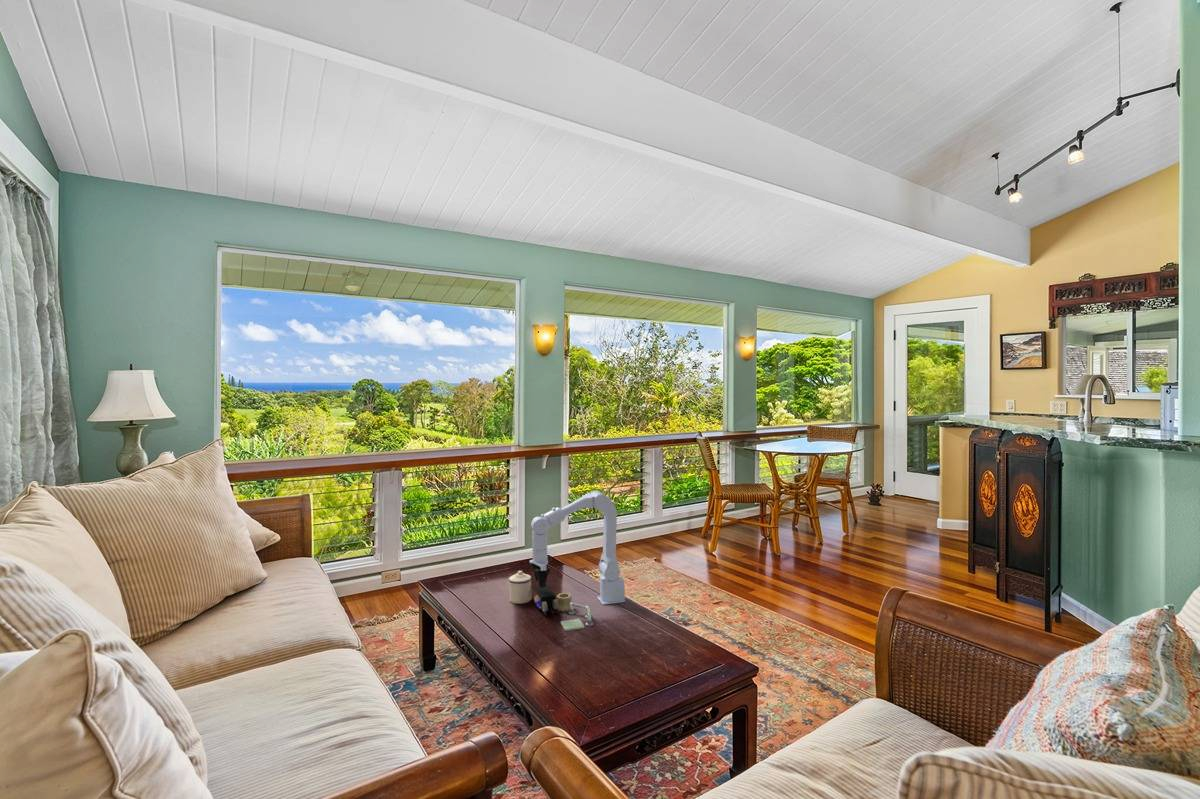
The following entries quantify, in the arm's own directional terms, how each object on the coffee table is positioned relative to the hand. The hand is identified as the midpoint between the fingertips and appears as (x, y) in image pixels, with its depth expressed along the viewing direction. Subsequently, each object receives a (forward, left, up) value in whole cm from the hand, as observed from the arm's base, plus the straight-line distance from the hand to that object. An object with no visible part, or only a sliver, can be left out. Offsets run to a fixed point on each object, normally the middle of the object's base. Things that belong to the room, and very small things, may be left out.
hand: (540, 583), depth 212 cm
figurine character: (-2, 0, -10) cm, 11 cm away
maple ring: (-9, +2, -10) cm, 14 cm away
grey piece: (-13, +12, -10) cm, 20 cm away
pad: (-8, +18, -10) cm, 22 cm away
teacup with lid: (+6, -14, -10) cm, 18 cm away
